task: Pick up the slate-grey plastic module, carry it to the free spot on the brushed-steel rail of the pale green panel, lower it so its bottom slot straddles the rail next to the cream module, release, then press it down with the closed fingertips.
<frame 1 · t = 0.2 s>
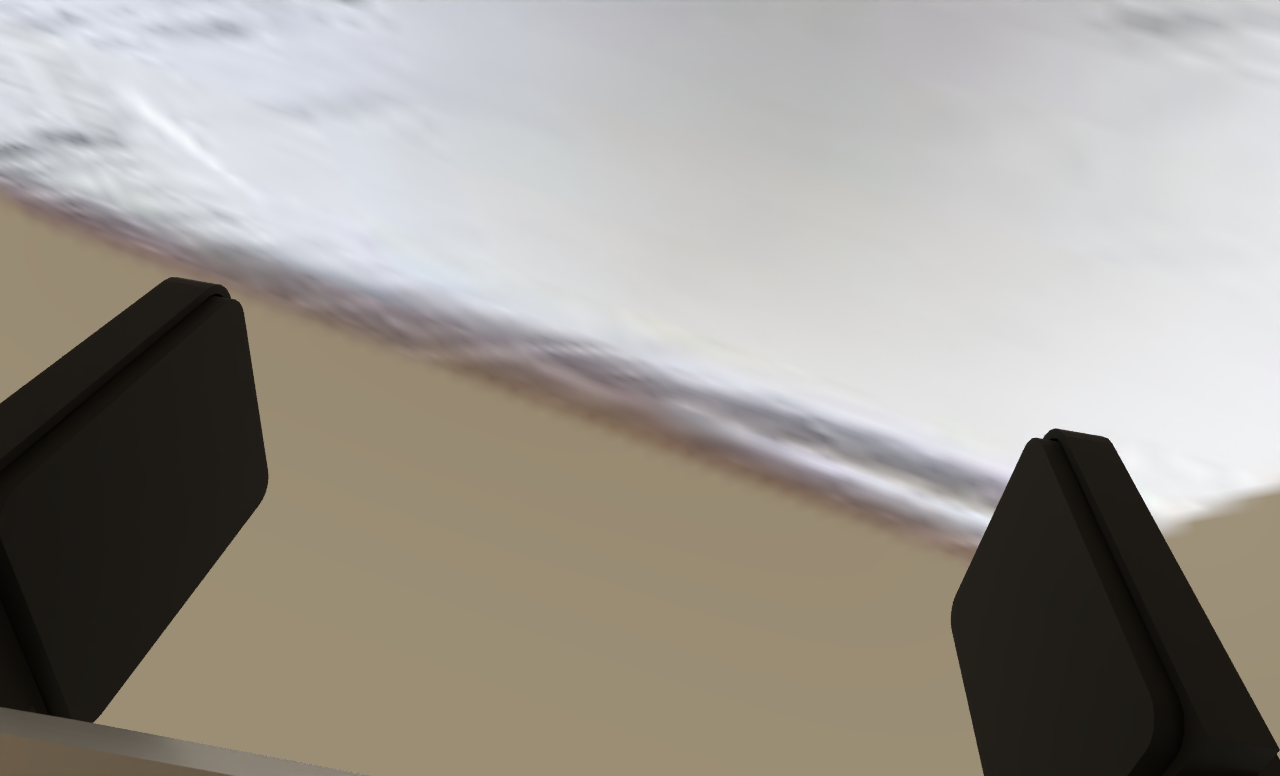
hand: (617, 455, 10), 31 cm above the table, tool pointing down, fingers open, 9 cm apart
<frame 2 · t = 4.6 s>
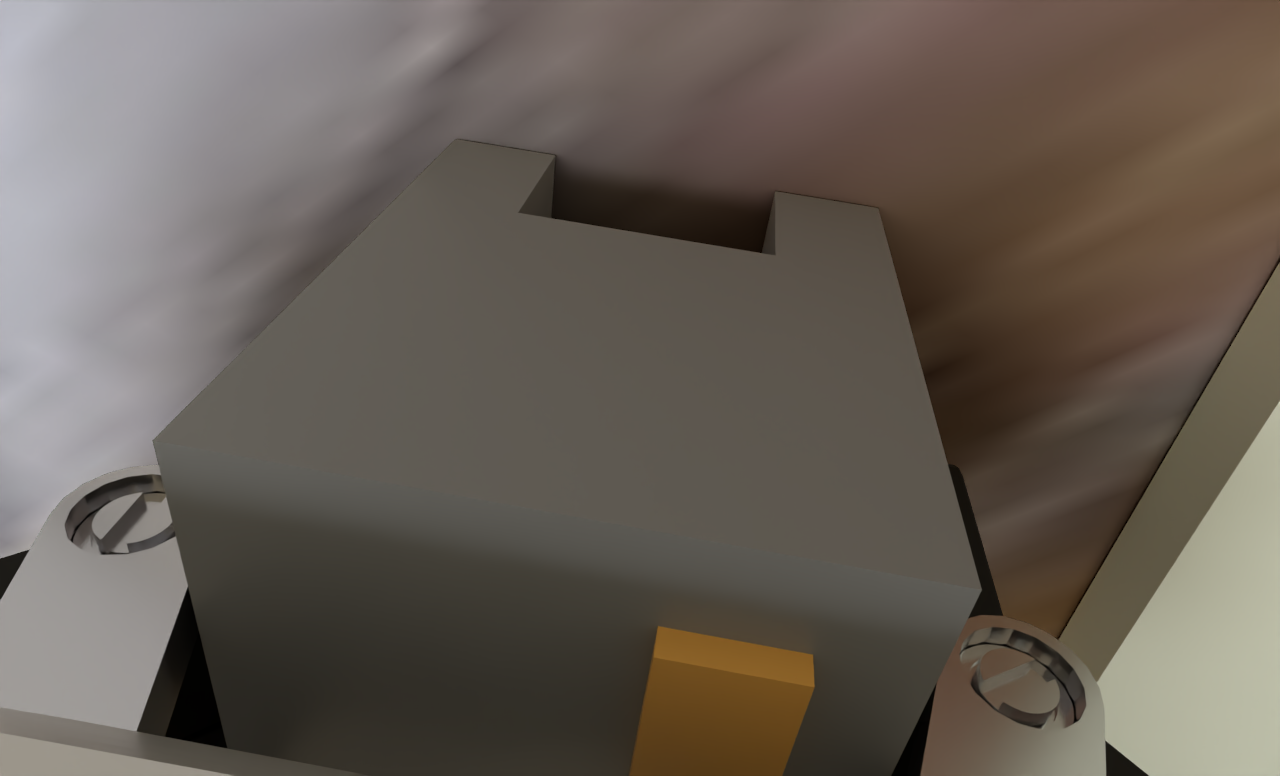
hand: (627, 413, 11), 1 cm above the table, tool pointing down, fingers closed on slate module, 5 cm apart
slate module: (634, 385, 12), on the table, touching gripper
when the fingers open (2 cm above the table, at t = 8.8 s): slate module stays where it is, resting on panel.
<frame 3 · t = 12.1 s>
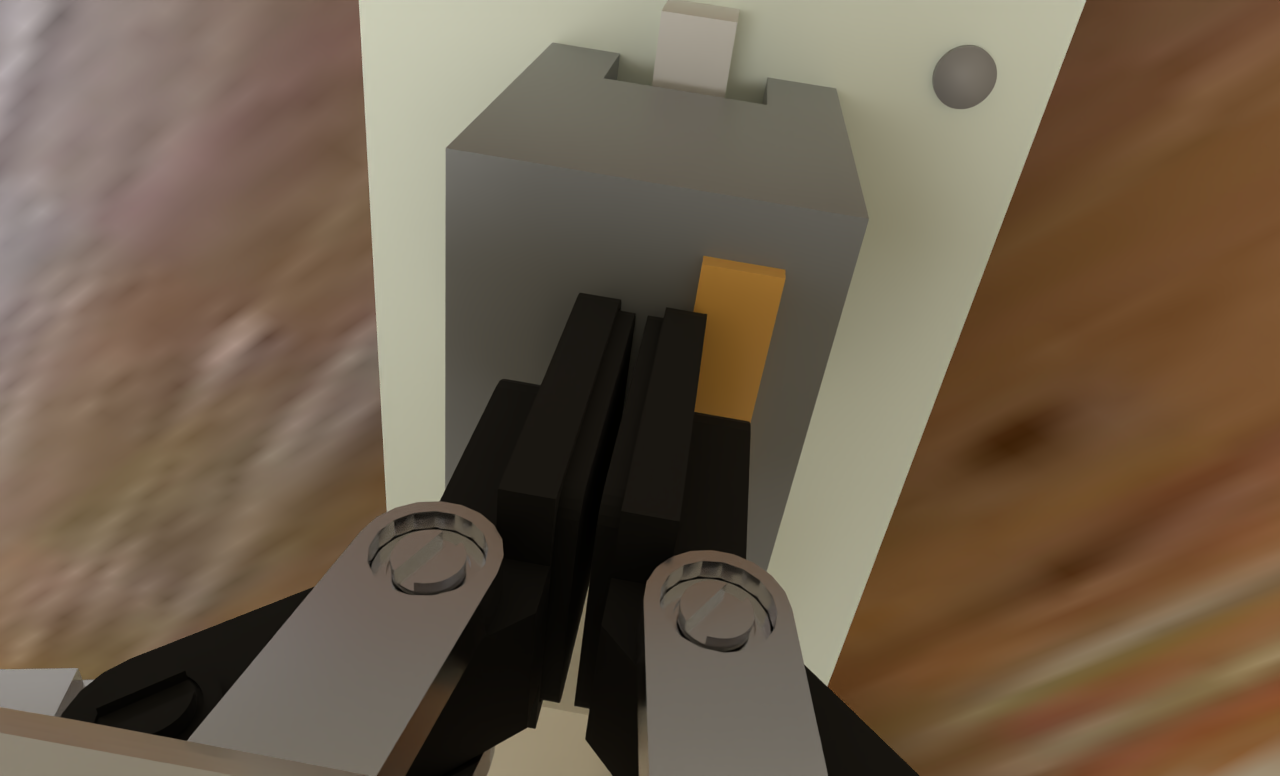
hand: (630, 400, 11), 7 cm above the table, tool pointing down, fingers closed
panel: (646, 402, 20), on the table
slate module: (668, 225, 17), point 1 cm above the table, touching gripper, panel
cream module: (616, 587, 22), point 1 cm above the table, touching panel
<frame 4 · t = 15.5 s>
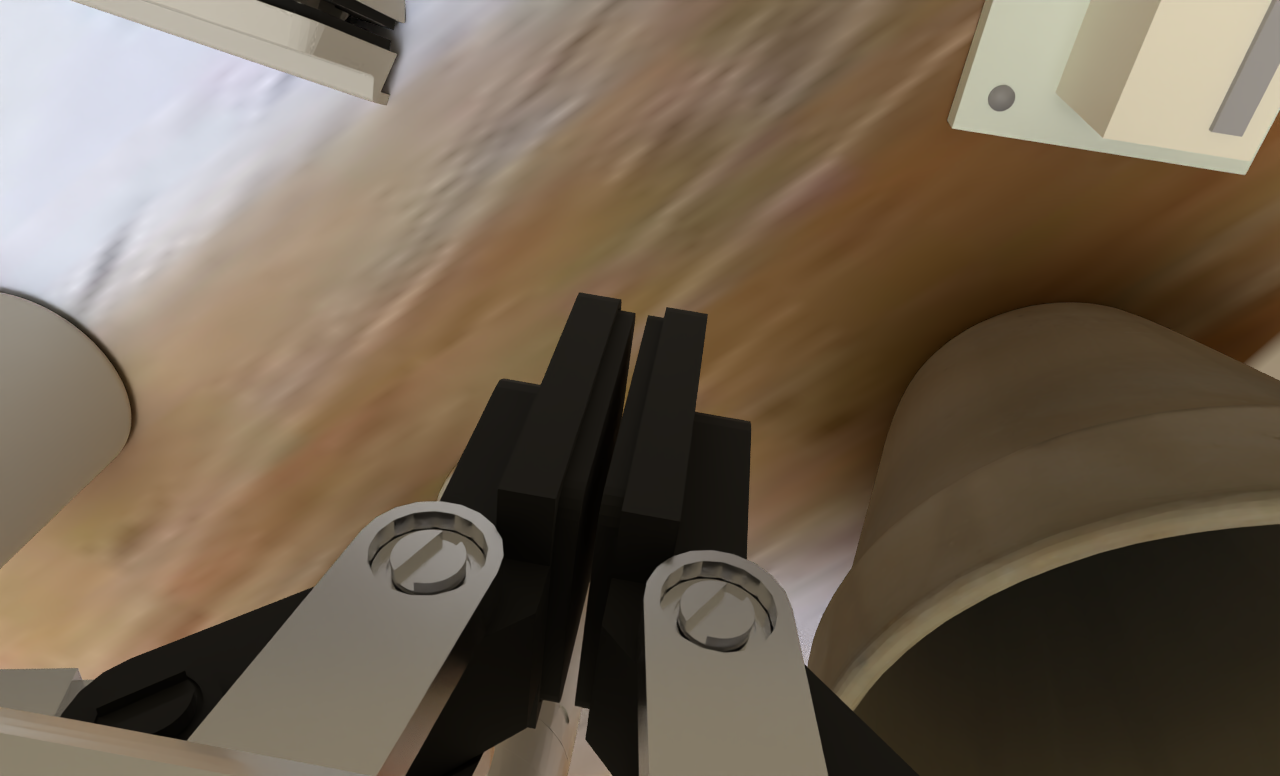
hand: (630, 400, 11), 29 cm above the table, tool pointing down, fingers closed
cylinder vase: (37, 377, 52), on the table
plant pot: (1035, 417, 45), on the table
cream module: (1152, 23, 33), point 1 cm above the table, touching panel
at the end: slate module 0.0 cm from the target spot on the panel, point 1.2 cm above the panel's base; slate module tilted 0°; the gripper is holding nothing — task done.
